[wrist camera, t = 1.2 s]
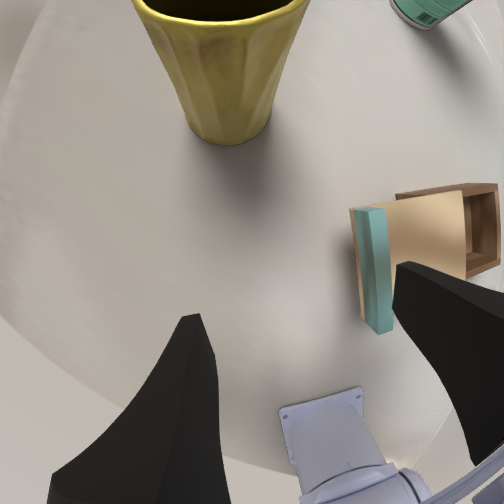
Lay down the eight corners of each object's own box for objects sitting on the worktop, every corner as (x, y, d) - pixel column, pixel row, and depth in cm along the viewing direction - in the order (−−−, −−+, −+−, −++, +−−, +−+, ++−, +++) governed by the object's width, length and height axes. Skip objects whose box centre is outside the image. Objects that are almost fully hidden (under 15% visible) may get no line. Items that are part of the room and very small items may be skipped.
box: (472, 255, 22) (500, 264, 18) (403, 278, 22) (430, 292, 18) (468, 182, 21) (497, 183, 17) (395, 194, 21) (424, 195, 17)
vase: (269, 147, 19) (341, 56, 5) (181, 145, 19) (88, 57, 5) (271, 71, 18) (323, -71, 4) (188, 69, 18) (138, -71, 4)
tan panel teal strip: (460, 283, 18) (482, 293, 15) (361, 317, 18) (378, 335, 15) (456, 190, 16) (480, 191, 14) (349, 209, 16) (368, 211, 14)
